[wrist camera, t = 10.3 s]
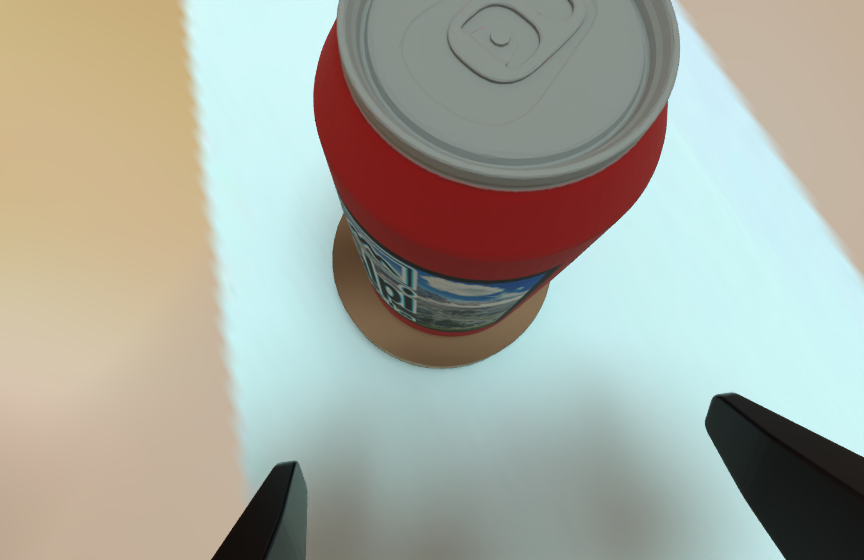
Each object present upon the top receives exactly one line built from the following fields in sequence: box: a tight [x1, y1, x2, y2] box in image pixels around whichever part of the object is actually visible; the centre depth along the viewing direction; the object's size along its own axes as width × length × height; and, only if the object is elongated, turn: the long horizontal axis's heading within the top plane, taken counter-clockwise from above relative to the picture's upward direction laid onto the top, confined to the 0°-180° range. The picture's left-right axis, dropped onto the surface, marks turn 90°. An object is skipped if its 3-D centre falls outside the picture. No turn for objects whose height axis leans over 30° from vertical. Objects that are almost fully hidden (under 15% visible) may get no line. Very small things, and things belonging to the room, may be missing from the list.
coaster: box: [333, 214, 550, 369], centre depth 19 cm, size 9×9×2 cm
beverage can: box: [313, 0, 680, 337], centre depth 13 cm, size 7×7×12 cm
